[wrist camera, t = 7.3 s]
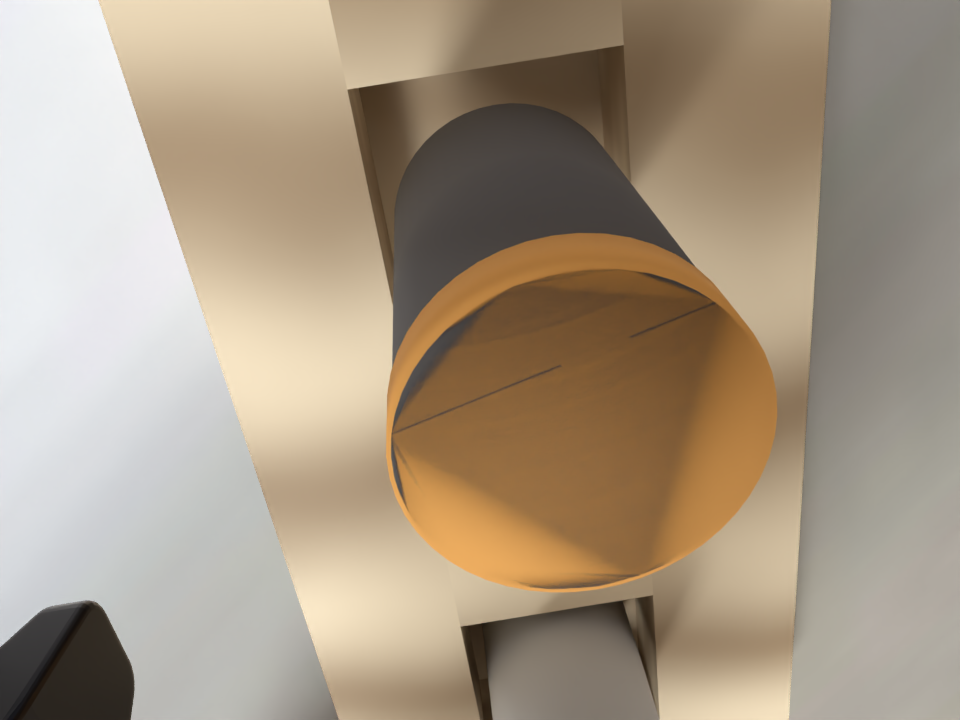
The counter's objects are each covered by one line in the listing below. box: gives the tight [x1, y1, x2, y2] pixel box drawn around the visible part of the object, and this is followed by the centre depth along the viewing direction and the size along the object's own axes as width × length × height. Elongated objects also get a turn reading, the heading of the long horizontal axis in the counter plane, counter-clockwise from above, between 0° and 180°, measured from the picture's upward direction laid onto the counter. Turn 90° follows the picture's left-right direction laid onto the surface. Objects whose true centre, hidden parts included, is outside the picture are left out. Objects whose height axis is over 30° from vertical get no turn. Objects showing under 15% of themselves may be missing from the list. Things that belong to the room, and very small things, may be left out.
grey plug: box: [482, 600, 660, 720], centre depth 21 cm, size 4×4×7 cm
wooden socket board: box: [99, 0, 831, 720], centre depth 20 cm, size 24×12×3 cm, turn 8°
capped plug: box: [386, 103, 777, 592], centre depth 12 cm, size 4×4×7 cm
